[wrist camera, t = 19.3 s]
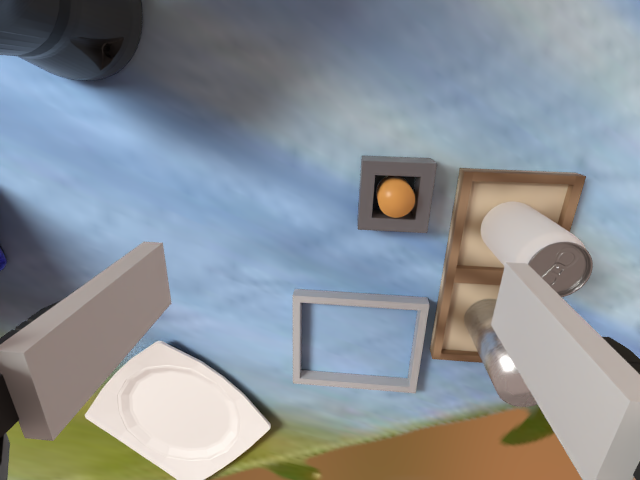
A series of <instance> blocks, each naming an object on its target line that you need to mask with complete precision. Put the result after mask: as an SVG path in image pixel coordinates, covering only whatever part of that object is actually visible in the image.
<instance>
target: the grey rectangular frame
mask: <svg viewBox="0 0 640 480" xmlns="http://www.w3.org/2000/svg"><path fill="white" fill-rule="evenodd" d="M302 303H315V304H331V305H346V306H361V307H376V308H391V309H406V310H417V317H416V324H415V331H414V338H413V345H412V352H411V359H410V366H409V372H408V378H397V377H384V376H371V375H359V374H346V373H333V372H320V371H308V370H301V339H302ZM428 311H429V302H428V299H427V297H414V296H399V295H383V294H367V293H351V292H336V291H320V290H304V289H295V290H294V293H293V383H296V384H309V385H321V386H333V387H346V388H358V389H370V390H383V391H395V392H407V393H416V387H417V381H418V374H419V368H420V361H421V355H422V349H423V342H424V336H425V330H426V323H427V317H428Z"/></svg>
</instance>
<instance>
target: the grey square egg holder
mask: <svg viewBox="0 0 640 480" xmlns="http://www.w3.org/2000/svg"><path fill="white" fill-rule="evenodd" d="M436 167H437V163H436V162H434V161H433V160H432V159H431V158H410V157H384V156H362V159H361V174H360V189H359V205H358V229H360V230H379V231H398V232H417V233H427V230H428V223H429V216H430V209H431V202H432V195H433V188H434V181H435V174H436ZM375 175H388V176H412V177H415V183H414V191H413V192H414V194H415V204H414V207H413V208H412V210H411V211H410V212H409V213H408V214H407V215H405V216H402V217H398V218H393V217H389V216H387V215H385V214H384V213H383V212H382V211H381V210H380V209H372V207H373V195H374V183H375Z"/></svg>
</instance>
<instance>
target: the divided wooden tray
mask: <svg viewBox="0 0 640 480" xmlns="http://www.w3.org/2000/svg"><path fill="white" fill-rule="evenodd" d="M585 178H586V176H584V175H581V174H578V173H571V172H546V171H521V170H495V169H470V168H460V170H459V176H458V182H457V188H456V194H455V200H454V206H453V212H452V218H451V224H450V230H449V236H448V242H447V249H446V255H445V261H444V267H443V273H442V279H441V285H440V291H439V297H438V303H437V309H436V315H435V321H434V327H433V333H432V339H431V345H430V352H431V356H432V359H441V360H454V361H468V362H481V363H483V362H482V360H481V358H480V355H479V353H478V351H477V349H476V347H475V345H474V343H473V341H472V339H471V337H470V335H469V332H468V330H467V328H466V326H465V323H464V316H465V313H466V311H467V310H468V308H469V307H470V306H471V305H472V304H474V303H475V302H477V301H480V300H483V299H497V297H498V293H499V288H500V284H501V280H502V276H503V271H504V267H505V266H504V265H503V264H502V263H501V262H500V261H499V259H498V258H497V257H496V256H495V255H494V254H493V252H492V251H491V250H490V249H489V248H488V247H487V245H486V244H485V243H484V241H483V239H482V237H481V224H482V221H483V219H484V217H485V216H486V214H487V213H488V212H489V211H490V210H491V209H493V208H494V207H495V206H497V205H499V204H502V203H505V202H510V201H515V202H521V203H524V204H526V205H528V206H530V207H532V208H533V209H535V210H536V211H538V212H540V213H541V214H543V215H544V216H546V217H547V218H549V219H550V220H552V221H553V222H555V223H557V224H558V225H560V226H561V227H563V228H564V229H566V230H567V231H569V232H570V229H571V226H572V222H573V219H574V215H575V212H576V209H577V205H578V202H579V199H580V195H581V192H582V188H583V185H584V182H585Z"/></svg>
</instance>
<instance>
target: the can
mask: <svg viewBox="0 0 640 480" xmlns="http://www.w3.org/2000/svg"><path fill="white" fill-rule="evenodd" d="M481 237H482V239H483V241H484V243H485V244H486V245H487V247H488V248H489V249H490V250H491V251H492V252H493V254H494V255H495V256H496V257H497V258H498V259H499V261H500V262H501V263H502V264H503V265H504V266H505V263H506V262H510V263H527V264H528V265H529V266H530V267H531V268H532V269H533V270H534V271H535V272H536V273H537V274H538V275H539V276H540V277H541V278H542V279H543V280H544V281H545V282H546V283H547V284H548V285H549V286H550V287H551V288H552V289H553V290H554V291H556V292H557V293H558V294H559V295H560V296H561V297H564V296H567V295H570V294H572V293H574V292H576V291H577V290H579V289H580V288H581V287H582V286H583V285H584V284H585V283H586V282H587V280H588V279H589V277H590V275H591V272H592V267H593V263H592V258H591V256H590V254H589V252H588V251H587V250H586V248H585V246H584V244H583V243H582V242H581V241H580V240H579V239H578V238H577V237H576V236H574V235H573V234H572V233H570V232H569V231H567V230H566V229H564V228H563V227H561V226H560V225H558V224H557V223H555V222H553V221H552V220H550V219H549V218H547V217H546V216H544V215H543V214H541V213H540V212H538V211H536V210H535V209H533V208H532V207H530V206H528V205H526V204H524V203H521V202H515V201H510V202H505V203H502V204H499V205H497V206H495V207H494V208H493V209H491V210H490V211H489V212H488V213H487V214H486V216H485V217H484V219H483V221H482V224H481Z"/></svg>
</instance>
